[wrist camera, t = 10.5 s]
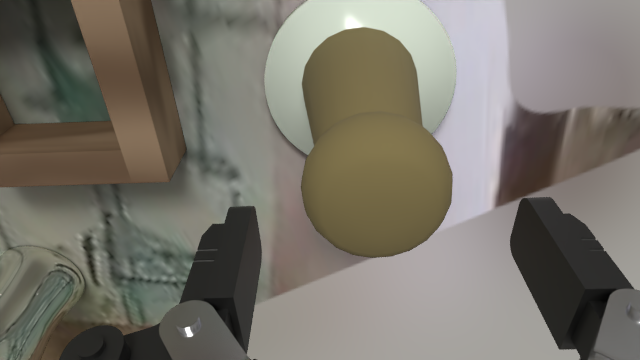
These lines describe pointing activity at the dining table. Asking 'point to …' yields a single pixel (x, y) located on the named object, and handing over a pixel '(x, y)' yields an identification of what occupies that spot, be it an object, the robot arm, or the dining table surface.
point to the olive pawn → (370, 147)
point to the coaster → (346, 13)
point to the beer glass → (34, 299)
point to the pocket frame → (122, 104)
